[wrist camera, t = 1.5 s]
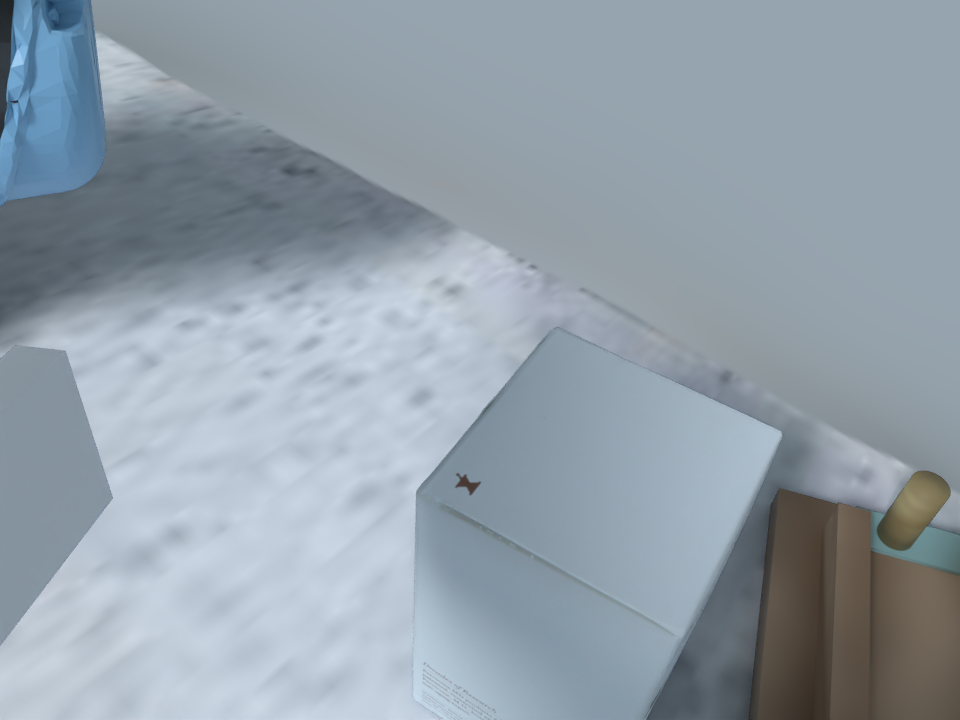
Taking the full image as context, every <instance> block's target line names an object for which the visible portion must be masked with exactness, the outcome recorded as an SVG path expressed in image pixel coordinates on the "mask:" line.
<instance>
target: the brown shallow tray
mask: <svg viewBox="0 0 960 720" xmlns="http://www.w3.org/2000/svg"><path fill="white" fill-rule="evenodd" d="M950 494H951V491H950V487H949V485H948V484H947V482H946V481H945V480H944V479H943V478H942V477H940V476H938V475H937V474H935V473H932V472H929V471H918V472H916V473H914V474H913V475H912V477H911V478H910V480H909V481H908V482H907V484H906V485H905V487H904V488H903V490H902V491H901V493H900V494H899V495H898V497H897V498H896V500H895V501H894V503H893V504H892V506H891V507H890V508H889V510H888V511H887V513H886V514H882V513H879V512H875V511H871V510H868V509H864V508H861V507H857V506H856V507H853V506H849V505H845V504H842V503H838V504H834V503H831V502H827V501H824V500H820V499H816V498H813V497H809V496H806V495H802V494H798V493H795V492H791V491H788V490H784V489H780V488H779V490H778V492H777V494H776V496H775V498H774V500H773V502H772V504H771V508H770V518H769V528H768V537H767V547H766V556H765V566H764V575H763V585H762V595H761V604H760V614H759V623H758V633H757V643H756V652H755V662H754V671H753V681H752V690H751V700H750V710H749V719H748V720H960V535H958V534H954V533H951V532H947V531H944V530H940V529H936V528H933V527H929V526H928V524H929V523H930V522H931V520H932V519H933V518H934V517H935V515H936V514H937V513H938V511H939V510H940V509H941V507H942V506H943V505H944V504H945V502H946V501H947V500H948V498H949V497H950Z"/></svg>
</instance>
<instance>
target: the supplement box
mask: <svg viewBox="0 0 960 720" xmlns="http://www.w3.org/2000/svg"><path fill="white" fill-rule="evenodd" d="M782 437H783V433H782V432H781V431H780V430H778V429H776V428H774V427H771V426H769V425H767V424H765V423H763V422H761V421H759V420H757V419H754V418H752V417H750V416H748V415H746V414H744V413H742V412H739V411H737V410H735V409H733V408H731V407H729V406H727V405H724V404H722V403H720V402H718V401H715V400H713V399H711V398H709V397H707V396H705V395H702V394H700V393H698V392H696V391H694V390H692V389H690V388H687V387H685V386H683V385H681V384H679V383H677V382H674V381H672V380H670V379H668V378H666V377H663V376H661V375H659V374H657V373H655V372H652V371H650V370H648V369H645V368H643V367H641V366H639V365H637V364H634V363H632V362H630V361H628V360H625V359H623V358H621V357H619V356H617V355H615V354H613V353H611V352H609V351H607V350H605V349H603V348H601V347H599V346H597V345H595V344H592V343H590V342H588V341H586V340H584V339H582V338H580V337H578V336H576V335H574V334H571V333H570V332H568V331H566V330H564V329H562V328H559V327H556V328H554V329H552V330H550V331H549V332H548V333H547V335H546V336H545V337H544V338H543V339H542V341H541V342H540V343H539V344H538V345H537V347H536V348H535V349H534V350H533V352H532V353H531V354H530V355H529V357H528V358H527V359H526V360H525V361H524V363H523V364H522V365H521V366H520V367H519V369H518V370H517V371H516V372H515V373H514V375H513V376H512V377H511V378H510V379H509V381H508V382H507V383H506V384H505V386H504V387H503V388H502V389H501V390H500V391H499V393H498V394H497V395H496V396H495V397H494V398H493V399H492V400H491V401H490V402H489V403H488V405H487V406H486V407H485V408H484V409H483V410H482V412H481V414H480V415H479V417H478V418H477V419H476V420H475V422H474V423H473V424H472V425H471V426H470V428H469V429H468V430H467V431H466V432H465V434H464V435H463V436H462V437H461V439H460V440H459V441H458V442H457V443H456V445H455V446H454V447H453V448H452V449H451V451H450V452H449V453H448V454H447V455H446V457H445V458H444V459H443V460H442V461H441V463H440V464H439V465H438V466H437V467H436V469H435V470H434V471H433V472H432V473H431V475H430V476H429V477H428V478H427V479H426V480H425V481H424V482H423V483H422V484H421V486H420V487H419V488H418V489H417V492H416V523H415V570H414V613H413V664H412V667H413V670H412V695H411V696H412V698H413V699H414V700H416V701H417V702H419V703H420V704H421V705H423V706H424V707H426V708H427V709H429V710H430V711H432V712H433V713H435V714H436V715H438V716H439V717H441V718H442V719H444V720H646V719H647V717H648V715H649V713H650V711H651V709H652V708H653V706H654V704H655V702H656V700H657V698H658V696H659V694H660V692H661V691H662V689H663V687H664V685H665V683H666V681H667V679H668V677H669V675H670V674H671V672H672V670H673V668H674V666H675V664H676V662H677V660H678V658H679V656H680V654H681V652H682V650H683V648H684V646H685V644H686V642H687V641H688V639H689V637H690V635H691V633H692V631H693V629H694V627H695V625H696V623H697V621H698V619H699V617H700V615H701V613H702V611H703V609H704V607H705V605H706V603H707V601H708V599H709V597H710V595H711V593H712V591H713V590H714V588H715V586H716V584H717V582H718V579H719V577H720V575H721V573H722V571H723V569H724V567H725V565H726V563H727V561H728V558H729V556H730V554H731V552H732V550H733V548H734V546H735V544H736V542H737V540H738V538H739V535H740V533H741V531H742V529H743V527H744V525H745V523H746V520H747V518H748V516H749V514H750V511H751V509H752V507H753V505H754V503H755V500H756V498H757V496H758V493H759V491H760V489H761V487H762V484H763V482H764V480H765V477H766V475H767V473H768V470H769V468H770V466H771V463H772V461H773V459H774V456H775V454H776V452H777V449H778V447H779V445H780V442H781V440H782Z"/></svg>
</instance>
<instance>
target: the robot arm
mask: <svg viewBox="0 0 960 720" xmlns="http://www.w3.org/2000/svg"><path fill="white" fill-rule="evenodd" d="M105 151H106V137H105V122H104V111H103V101H102V92H101V82H100V73H99V64H98V55H97V47H96V38H95V30H94V21H93V13H92V6H91V0H0V206H2V205H3V204H4V203H5V202H6V201H10V200H16V199H22V198H28V197H35V196H41V195H47V194H54V193H60V192H66V191H71V190H74V189H76V188H79V187H81V186H83V185H84V184H86V183H87V182H89V181H90V180H91V179H92V178H93V177H94V176H95V175H96V173H97V172H98V171H99V169H100V167H101V165H102V163H103V160H104V156H105ZM112 499H113V496H112V493H111V490H110V487H109V484H108V481H107V478H106V475H105V472H104V469H103V466H102V462H101V459H100V456H99V453H98V450H97V447H96V444H95V441H94V438H93V435H92V431H91V428H90V425H89V422H88V419H87V416H86V413H85V410H84V407H83V404H82V401H81V397H80V394H79V391H78V388H77V385H76V382H75V379H74V376H73V373H72V370H71V366H70V363H69V360H68V357H67V354H66V351H63V350H53V349H44V348H35V347H26V346H17V345H15V346H14V347H13V348H12V349H11V350H10V351H8V352H7V353H6V354H5V355H4V356H3V357H2V358H1V359H0V646H1V644H2V643H3V642H4V640H5V639H6V638H7V636H8V635H9V634H10V633H11V631H12V630H13V629H14V627H15V626H16V625H17V623H18V622H19V621H20V619H21V618H22V617H23V615H24V614H25V613H26V612H27V610H28V609H29V608H30V606H31V605H32V604H33V602H34V601H35V600H36V598H37V597H38V596H39V594H40V593H41V592H42V591H43V589H44V588H45V587H46V585H47V584H48V583H49V581H50V580H51V579H52V577H53V576H54V575H55V573H56V572H57V571H58V570H59V568H60V567H61V566H62V564H63V563H64V562H65V560H66V559H67V558H68V556H69V555H70V554H71V552H72V551H73V550H74V549H75V547H76V546H77V545H78V543H79V542H80V541H81V539H82V538H83V537H84V535H85V534H86V533H87V531H88V530H89V529H90V528H91V526H92V525H93V524H94V522H95V521H96V520H97V518H98V517H99V516H100V514H101V513H102V512H103V510H104V509H105V508H106V507H107V505H108V504H109V503H110V501H111V500H112Z"/></svg>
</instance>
